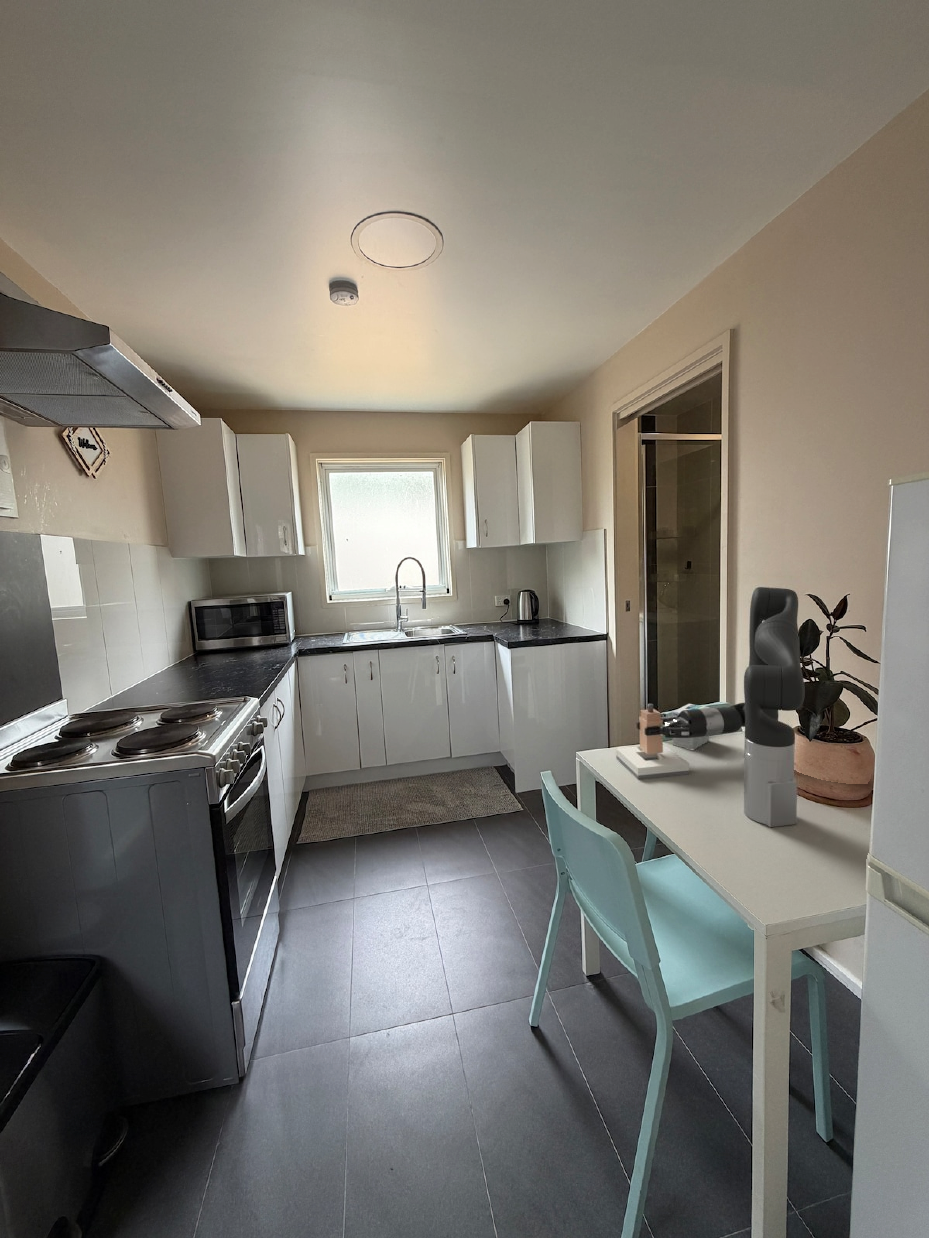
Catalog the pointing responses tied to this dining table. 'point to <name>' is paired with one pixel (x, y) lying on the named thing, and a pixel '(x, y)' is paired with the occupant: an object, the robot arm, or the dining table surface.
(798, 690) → the robot arm
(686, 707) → the light bulb box
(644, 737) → the plug
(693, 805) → the dining table surface
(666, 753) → the socket plate
